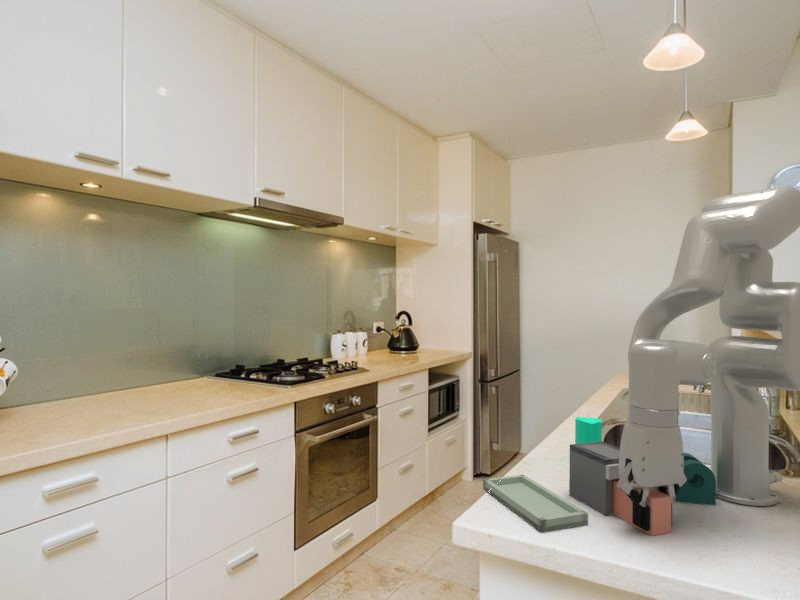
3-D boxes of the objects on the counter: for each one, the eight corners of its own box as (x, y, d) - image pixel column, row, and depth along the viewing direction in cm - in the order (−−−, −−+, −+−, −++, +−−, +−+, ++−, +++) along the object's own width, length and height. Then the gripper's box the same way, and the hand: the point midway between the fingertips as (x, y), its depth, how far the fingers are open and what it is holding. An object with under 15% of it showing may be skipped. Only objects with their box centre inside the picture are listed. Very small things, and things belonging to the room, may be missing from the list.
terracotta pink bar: (603, 496, 98) (603, 465, 98) (671, 532, 83) (671, 496, 83) (586, 498, 97) (586, 467, 97) (652, 536, 82) (652, 499, 82)
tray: (523, 484, 105) (523, 474, 105) (588, 524, 86) (588, 513, 86) (483, 489, 102) (483, 479, 102) (541, 532, 83) (541, 520, 83)
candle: (571, 464, 118) (571, 413, 118) (578, 457, 123) (578, 409, 123) (598, 469, 114) (598, 417, 114) (604, 462, 119) (604, 412, 119)
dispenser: (643, 512, 91) (643, 457, 91) (608, 517, 89) (609, 461, 89) (601, 490, 101) (601, 441, 101) (569, 495, 99) (569, 444, 99)
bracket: (701, 492, 101) (701, 453, 101) (715, 506, 95) (716, 464, 95) (607, 485, 105) (607, 448, 105) (614, 498, 98) (615, 458, 98)
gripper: (672, 409, 91) (671, 510, 91) (596, 415, 85) (596, 522, 85) (710, 418, 84) (709, 528, 84) (630, 425, 78) (629, 542, 78)
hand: (652, 524), depth 84 cm, fingers closed on terracotta pink bar, 4 cm apart
